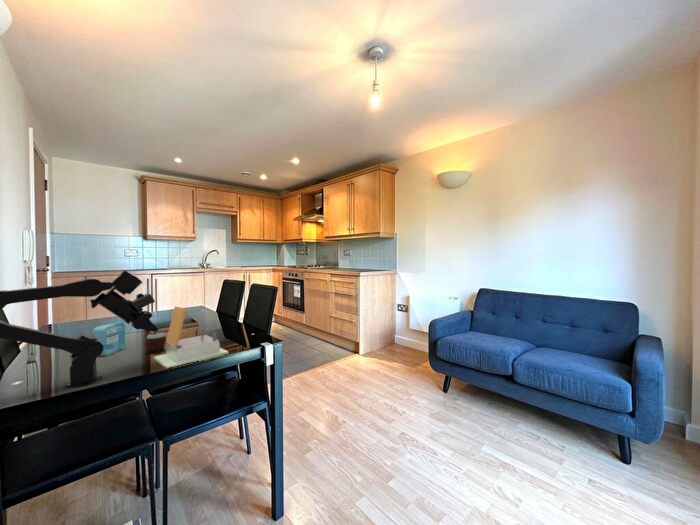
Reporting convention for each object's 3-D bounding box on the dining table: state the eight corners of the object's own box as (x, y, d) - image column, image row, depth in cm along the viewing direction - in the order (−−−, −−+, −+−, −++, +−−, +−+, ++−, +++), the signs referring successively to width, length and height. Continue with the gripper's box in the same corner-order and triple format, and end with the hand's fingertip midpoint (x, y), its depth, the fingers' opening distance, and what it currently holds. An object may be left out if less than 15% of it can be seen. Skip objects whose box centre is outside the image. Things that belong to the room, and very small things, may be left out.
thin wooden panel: (177, 347, 108) (174, 347, 108) (168, 341, 116) (165, 341, 115) (186, 309, 111) (184, 308, 110) (177, 306, 118) (175, 306, 118)
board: (166, 369, 103) (166, 366, 103) (153, 359, 115) (153, 356, 115) (228, 353, 119) (228, 351, 119) (211, 346, 131) (211, 343, 131)
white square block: (178, 363, 107) (177, 341, 107) (166, 354, 117) (165, 334, 117) (219, 352, 118) (219, 332, 118) (205, 345, 128) (204, 327, 128)
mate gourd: (169, 351, 126) (168, 316, 125) (148, 356, 119) (147, 319, 119) (161, 348, 130) (159, 314, 130) (140, 353, 123) (139, 317, 123)
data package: (105, 356, 120) (104, 327, 120) (93, 357, 120) (92, 328, 120) (125, 348, 132) (124, 321, 132) (115, 348, 132) (114, 321, 132)
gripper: (143, 288, 98) (181, 315, 106) (132, 285, 111) (166, 310, 119) (115, 315, 92) (157, 342, 101) (106, 309, 105) (144, 333, 114)
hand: (157, 330), depth 109 cm, fingers closed
